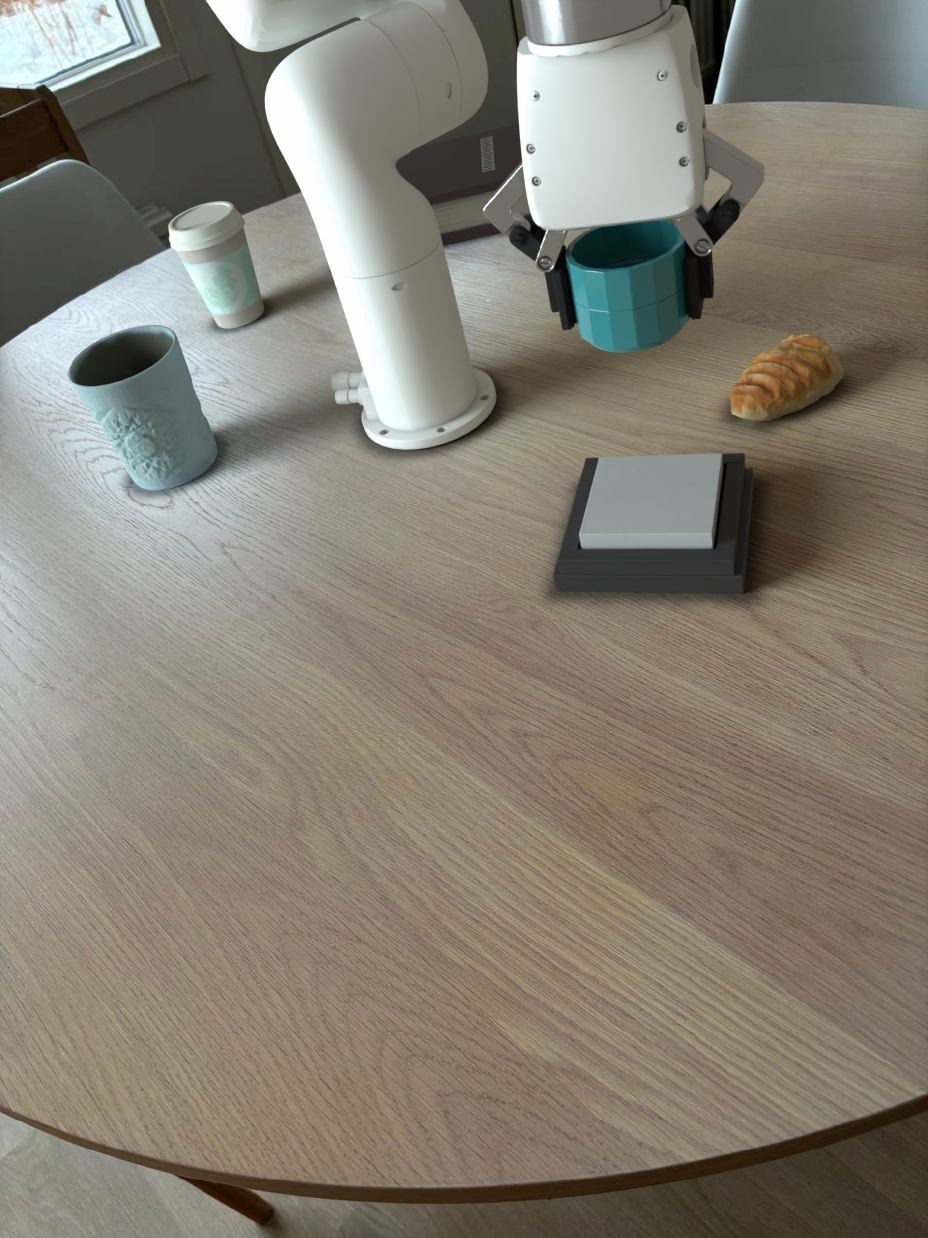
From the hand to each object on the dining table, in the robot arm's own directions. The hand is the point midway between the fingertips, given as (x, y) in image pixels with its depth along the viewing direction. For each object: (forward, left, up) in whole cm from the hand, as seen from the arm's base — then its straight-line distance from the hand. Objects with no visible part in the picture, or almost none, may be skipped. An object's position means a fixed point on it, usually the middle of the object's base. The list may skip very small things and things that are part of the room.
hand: (632, 312), depth 64 cm
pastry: (+9, +16, -17) cm, 25 cm away
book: (-33, +61, -17) cm, 72 cm away
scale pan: (0, -2, -15) cm, 15 cm away
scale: (0, -2, -17) cm, 17 cm away
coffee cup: (-53, +38, -17) cm, 68 cm away
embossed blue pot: (-47, +9, -17) cm, 51 cm away
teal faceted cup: (0, 0, -1) cm, 1 cm away
